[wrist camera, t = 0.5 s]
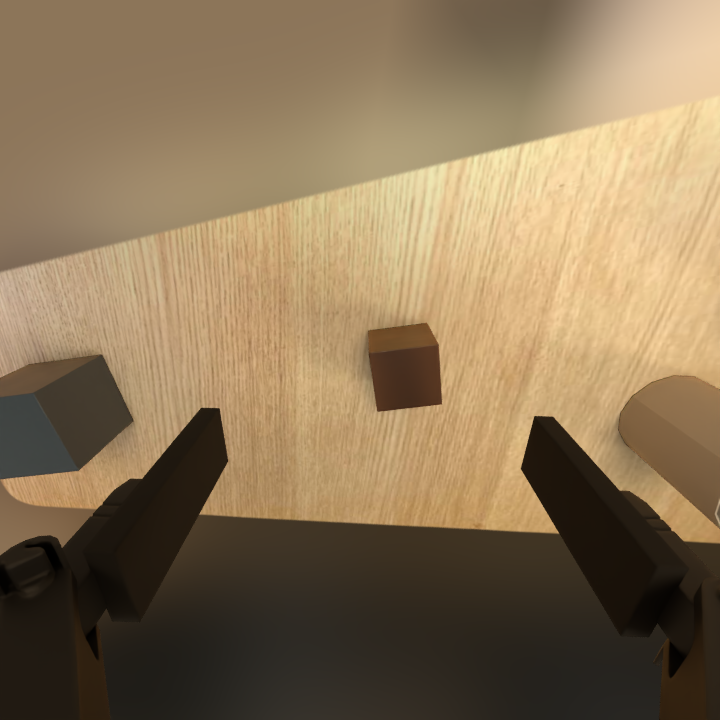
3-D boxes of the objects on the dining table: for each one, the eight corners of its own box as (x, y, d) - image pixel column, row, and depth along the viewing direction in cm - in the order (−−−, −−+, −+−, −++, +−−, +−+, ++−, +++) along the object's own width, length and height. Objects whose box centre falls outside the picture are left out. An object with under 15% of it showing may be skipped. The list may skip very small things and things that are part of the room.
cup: (723, 425, 33) (862, 509, 24) (635, 464, 35) (732, 556, 26) (699, 358, 30) (845, 424, 21) (606, 405, 32) (702, 484, 23)
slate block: (101, 354, 31) (32, 393, 24) (133, 420, 34) (78, 470, 27) (29, 364, 31) (-58, 404, 25) (66, 428, 34) (-4, 479, 28)
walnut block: (427, 322, 29) (438, 344, 25) (430, 375, 31) (442, 404, 27) (368, 330, 30) (368, 353, 25) (375, 382, 32) (377, 412, 27)
